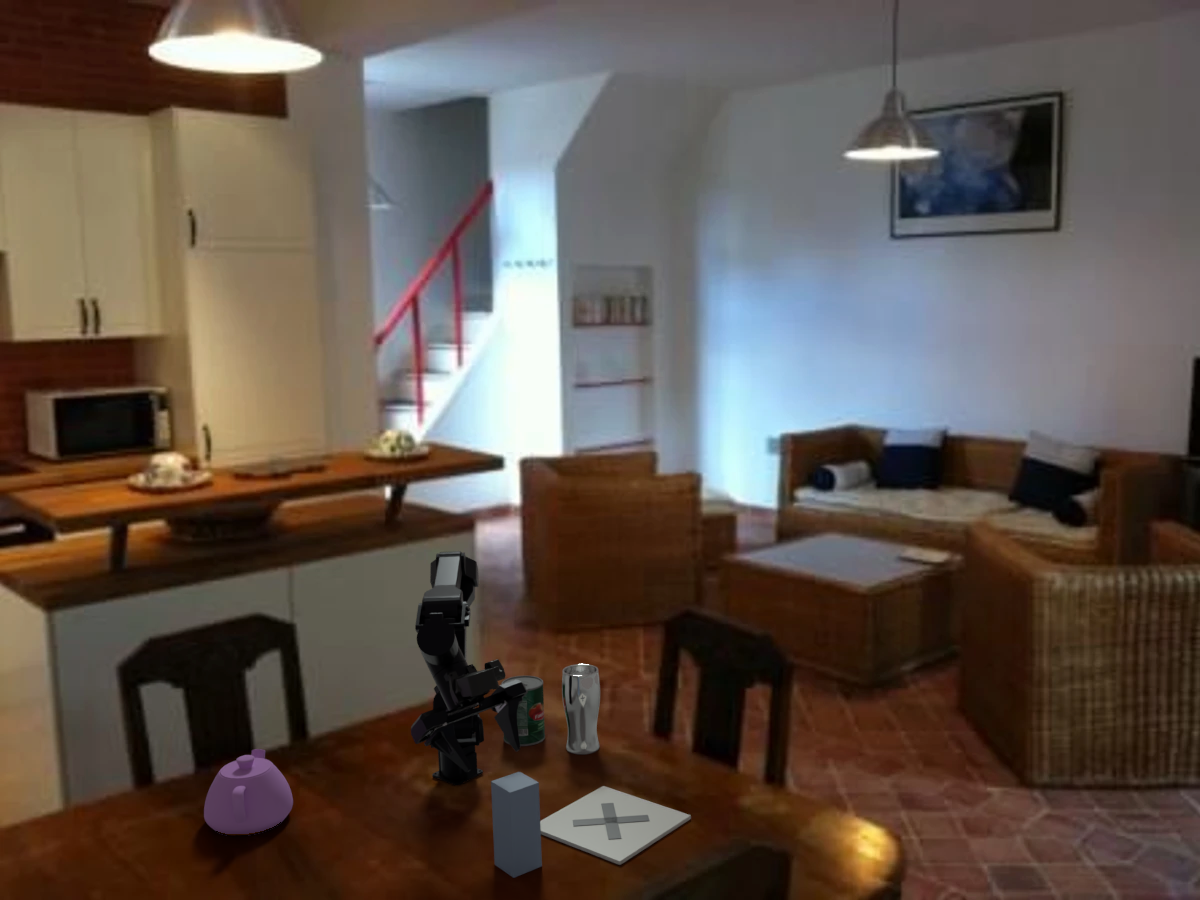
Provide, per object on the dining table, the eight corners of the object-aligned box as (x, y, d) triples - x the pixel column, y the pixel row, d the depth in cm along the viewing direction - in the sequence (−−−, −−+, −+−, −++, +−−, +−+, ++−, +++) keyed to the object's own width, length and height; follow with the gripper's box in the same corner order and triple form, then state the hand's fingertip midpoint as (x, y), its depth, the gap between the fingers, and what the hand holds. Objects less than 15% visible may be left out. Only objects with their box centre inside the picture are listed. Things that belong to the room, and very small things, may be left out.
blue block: (494, 864, 166) (490, 781, 164) (522, 853, 169) (519, 771, 167) (513, 877, 162) (510, 792, 160) (541, 866, 165) (538, 782, 163)
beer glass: (597, 756, 203) (595, 677, 200) (560, 754, 204) (557, 675, 202) (605, 741, 209) (602, 664, 207) (568, 739, 211) (566, 662, 209)
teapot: (302, 787, 194) (298, 728, 192) (285, 843, 174) (280, 778, 172) (219, 794, 192) (215, 734, 190) (193, 851, 172) (187, 785, 171)
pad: (530, 830, 176) (530, 825, 176) (603, 789, 189) (603, 785, 189) (619, 865, 164) (619, 860, 164) (690, 818, 178) (690, 814, 178)
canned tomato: (500, 732, 215) (498, 677, 213) (540, 728, 217) (538, 673, 215) (507, 748, 207) (504, 691, 206) (548, 743, 209) (546, 687, 208)
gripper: (416, 664, 165) (462, 760, 159) (518, 631, 176) (564, 719, 171) (392, 696, 172) (434, 789, 167) (491, 662, 184) (534, 748, 178)
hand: (493, 760), depth 170 cm, fingers open, 9 cm apart
